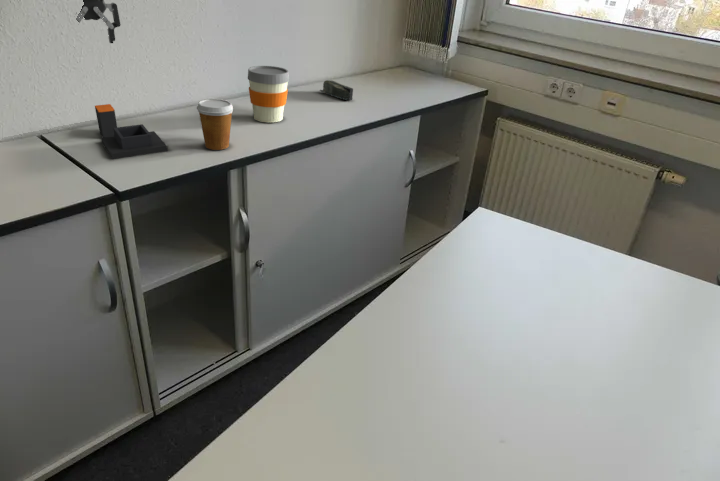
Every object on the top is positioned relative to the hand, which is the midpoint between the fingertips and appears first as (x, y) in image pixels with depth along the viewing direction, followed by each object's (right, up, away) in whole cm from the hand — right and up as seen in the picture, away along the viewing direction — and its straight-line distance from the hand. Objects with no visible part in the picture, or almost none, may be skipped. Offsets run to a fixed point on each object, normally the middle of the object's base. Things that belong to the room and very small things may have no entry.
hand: (94, 43), depth 150 cm
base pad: (+13, -30, -5) cm, 33 cm away
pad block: (+4, -25, +1) cm, 26 cm away
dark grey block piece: (+65, -2, +49) cm, 81 cm away
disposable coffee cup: (+34, -29, 0) cm, 45 cm away
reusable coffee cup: (+44, -16, +23) cm, 52 cm away
